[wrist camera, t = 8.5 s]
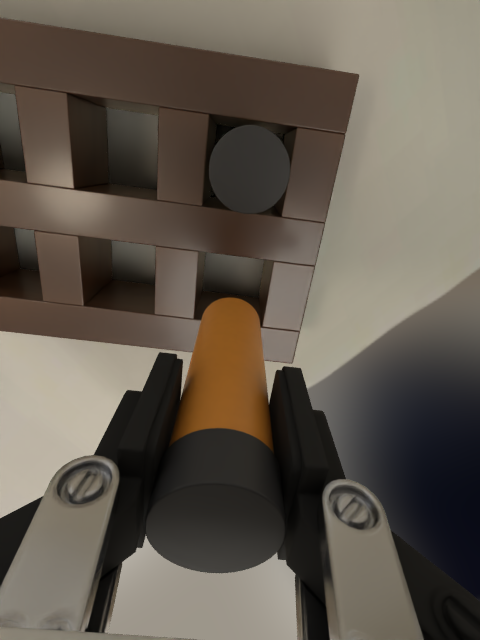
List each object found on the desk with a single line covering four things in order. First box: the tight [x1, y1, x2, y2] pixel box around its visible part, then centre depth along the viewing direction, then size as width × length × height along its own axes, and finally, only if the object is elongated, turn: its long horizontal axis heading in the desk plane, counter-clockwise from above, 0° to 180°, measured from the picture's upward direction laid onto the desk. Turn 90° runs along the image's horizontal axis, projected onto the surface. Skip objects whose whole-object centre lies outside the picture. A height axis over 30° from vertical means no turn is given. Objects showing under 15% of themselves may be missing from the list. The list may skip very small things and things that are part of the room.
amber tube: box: [144, 297, 287, 573], centre depth 12 cm, size 3×3×10 cm
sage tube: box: [209, 125, 290, 214], centre depth 17 cm, size 3×3×10 cm
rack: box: [0, 18, 359, 363], centre depth 20 cm, size 16×22×5 cm
